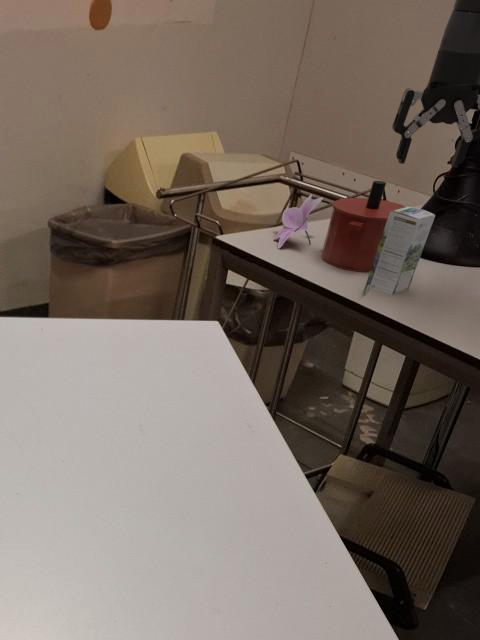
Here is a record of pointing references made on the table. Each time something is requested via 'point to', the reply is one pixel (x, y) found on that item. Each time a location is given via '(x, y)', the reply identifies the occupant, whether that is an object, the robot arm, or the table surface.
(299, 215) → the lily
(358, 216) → the pot lid
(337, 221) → the pot
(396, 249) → the syrup box
